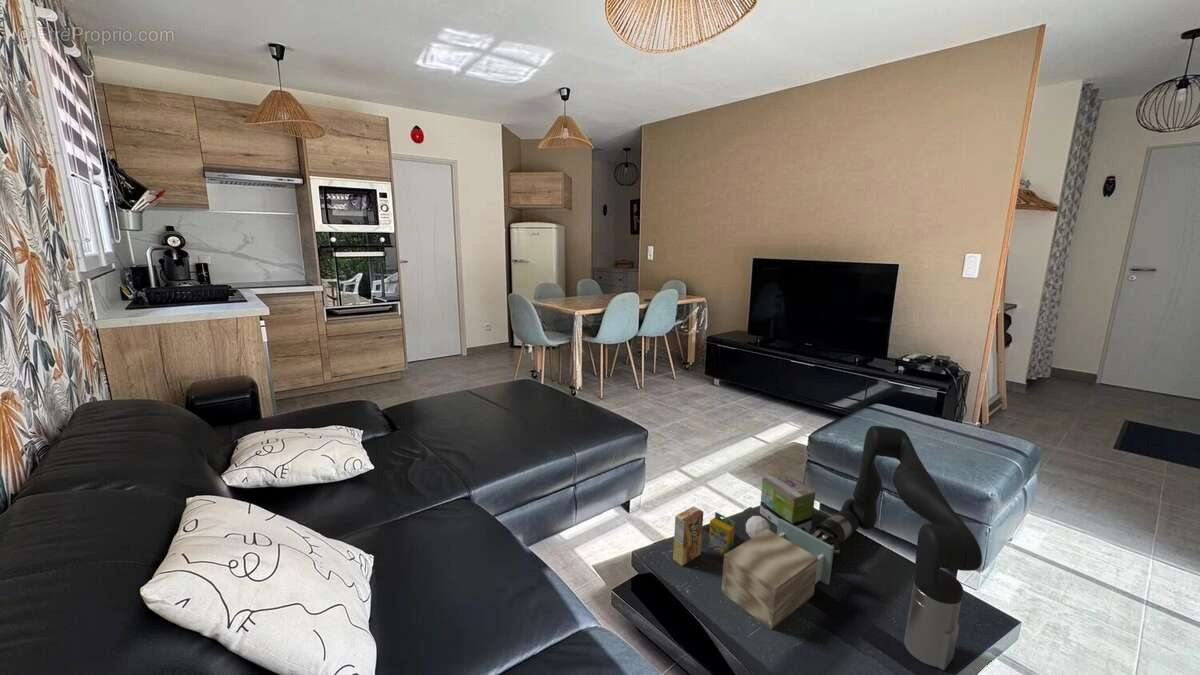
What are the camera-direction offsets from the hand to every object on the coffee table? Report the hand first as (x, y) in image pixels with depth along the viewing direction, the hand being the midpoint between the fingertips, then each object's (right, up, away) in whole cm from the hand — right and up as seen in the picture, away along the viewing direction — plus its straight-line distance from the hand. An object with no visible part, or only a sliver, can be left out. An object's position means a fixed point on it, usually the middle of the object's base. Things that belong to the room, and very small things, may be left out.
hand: (804, 551), depth 141 cm
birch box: (-14, -8, -9) cm, 18 cm away
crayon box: (-23, -4, +9) cm, 25 cm away
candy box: (-34, -5, +6) cm, 35 cm away
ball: (-9, -3, +16) cm, 18 cm away
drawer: (-8, -6, -5) cm, 11 cm away
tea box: (+4, -1, +25) cm, 25 cm away
